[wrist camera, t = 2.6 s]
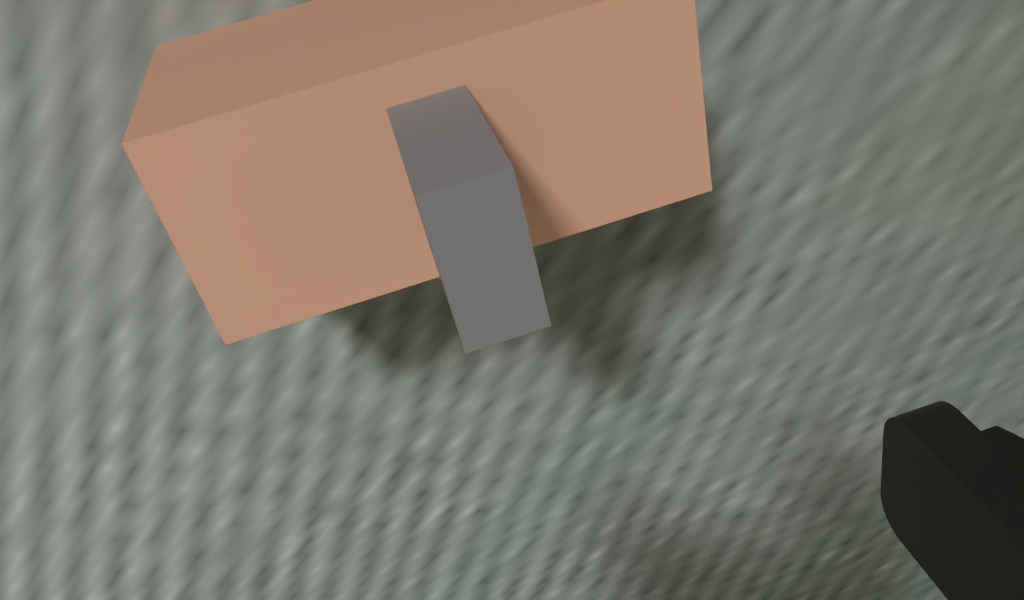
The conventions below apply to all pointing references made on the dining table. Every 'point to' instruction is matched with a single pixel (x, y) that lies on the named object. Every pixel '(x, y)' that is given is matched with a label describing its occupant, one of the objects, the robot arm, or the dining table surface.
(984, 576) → the robot arm
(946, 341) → the dining table surface
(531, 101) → the tan box with handle
